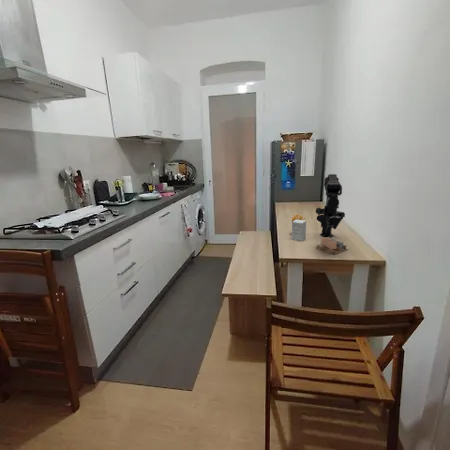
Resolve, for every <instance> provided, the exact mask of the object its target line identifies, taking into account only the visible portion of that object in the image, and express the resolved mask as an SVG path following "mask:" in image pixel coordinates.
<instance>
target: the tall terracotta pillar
mask: <svg viewBox="0 0 450 450" xmlns="http://www.w3.org/2000/svg"><path fill="white" fill-rule="evenodd" d="M331 239H332V238H329V237H322V238H321V239H320V241H321V242H320V244H321V245H320V246H325V247H327V248H329V249H336V246H337V242H335V241H333V240H334V239H333V240H331Z"/></svg>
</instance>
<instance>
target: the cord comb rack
mask: <svg viewBox="0 0 450 450" xmlns="http://www.w3.org/2000/svg"><path fill="white" fill-rule="evenodd" d="M315 250H319V251H321V252H324V253H328V254H329V255H333V256H336V255H338V254H341V253H344V252H346V251H348V250H349V249H347V245H345V244H343V249H341V250H340V248H339V247H336V249H329V248H327V247H325V246H323V245H319V244H317V245H316V247H315Z"/></svg>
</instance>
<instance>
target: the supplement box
mask: <svg viewBox="0 0 450 450" xmlns="http://www.w3.org/2000/svg"><path fill="white" fill-rule="evenodd" d="M306 234H307V220H306V219H305V220H303V219H302V220H297V219H296V220H294V221H293V222H292V221H291V240H293V241H299V242H302V241H304V240H305V239H306Z"/></svg>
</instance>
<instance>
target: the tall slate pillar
mask: <svg viewBox="0 0 450 450" xmlns="http://www.w3.org/2000/svg"><path fill="white" fill-rule="evenodd" d="M330 239H331V240H333V241H335V242H337V246H336V247H339V248H340V250H341V249H343V245H344V242H342V241H339V240H336V239H332V238H330Z"/></svg>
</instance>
